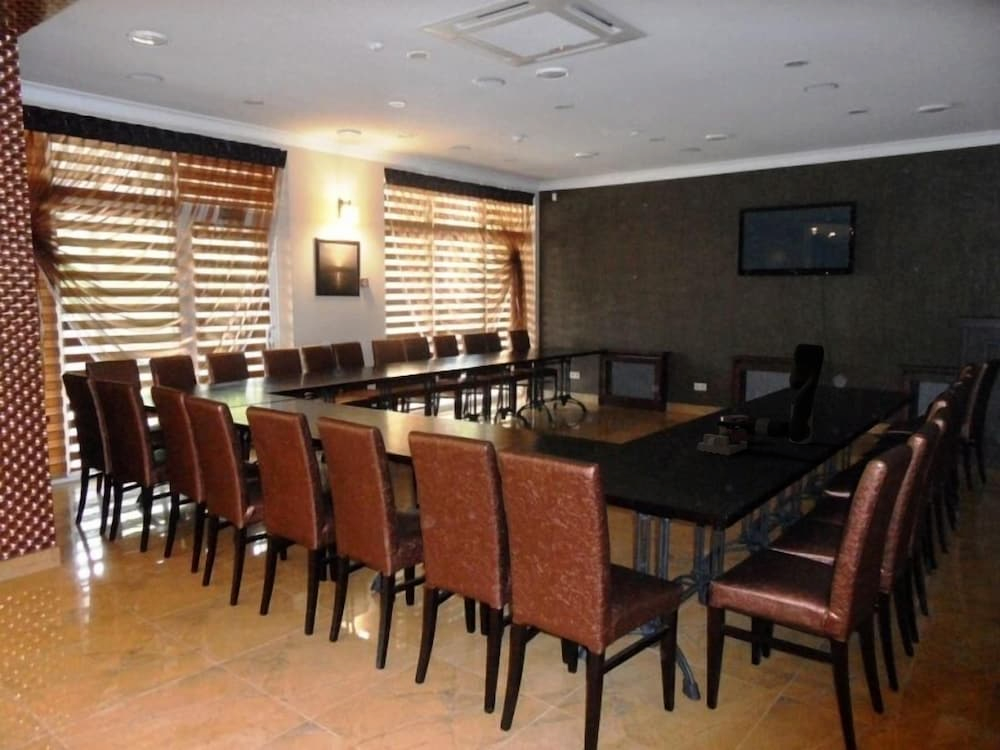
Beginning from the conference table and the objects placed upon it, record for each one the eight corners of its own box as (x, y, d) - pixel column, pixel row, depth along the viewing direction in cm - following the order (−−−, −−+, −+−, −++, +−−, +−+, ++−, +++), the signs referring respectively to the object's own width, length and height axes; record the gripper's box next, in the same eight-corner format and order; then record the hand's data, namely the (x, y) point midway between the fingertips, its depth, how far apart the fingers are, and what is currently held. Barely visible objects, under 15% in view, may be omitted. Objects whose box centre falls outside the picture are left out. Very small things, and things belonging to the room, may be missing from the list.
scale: (716, 443, 323) (716, 428, 322) (746, 448, 314) (747, 432, 313) (697, 450, 309) (698, 434, 308) (729, 455, 300) (729, 439, 299)
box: (729, 443, 324) (730, 417, 322) (720, 441, 329) (722, 415, 328) (747, 442, 328) (749, 416, 326) (739, 439, 333) (740, 414, 331)
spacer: (722, 437, 316) (723, 415, 315) (733, 439, 313) (734, 416, 312) (717, 439, 312) (718, 416, 311) (728, 441, 309) (729, 418, 308)
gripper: (766, 416, 307) (729, 411, 318) (753, 420, 297) (715, 415, 307) (765, 433, 308) (728, 428, 319) (752, 438, 297) (715, 432, 308)
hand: (722, 422), depth 313 cm, fingers open, 8 cm apart
